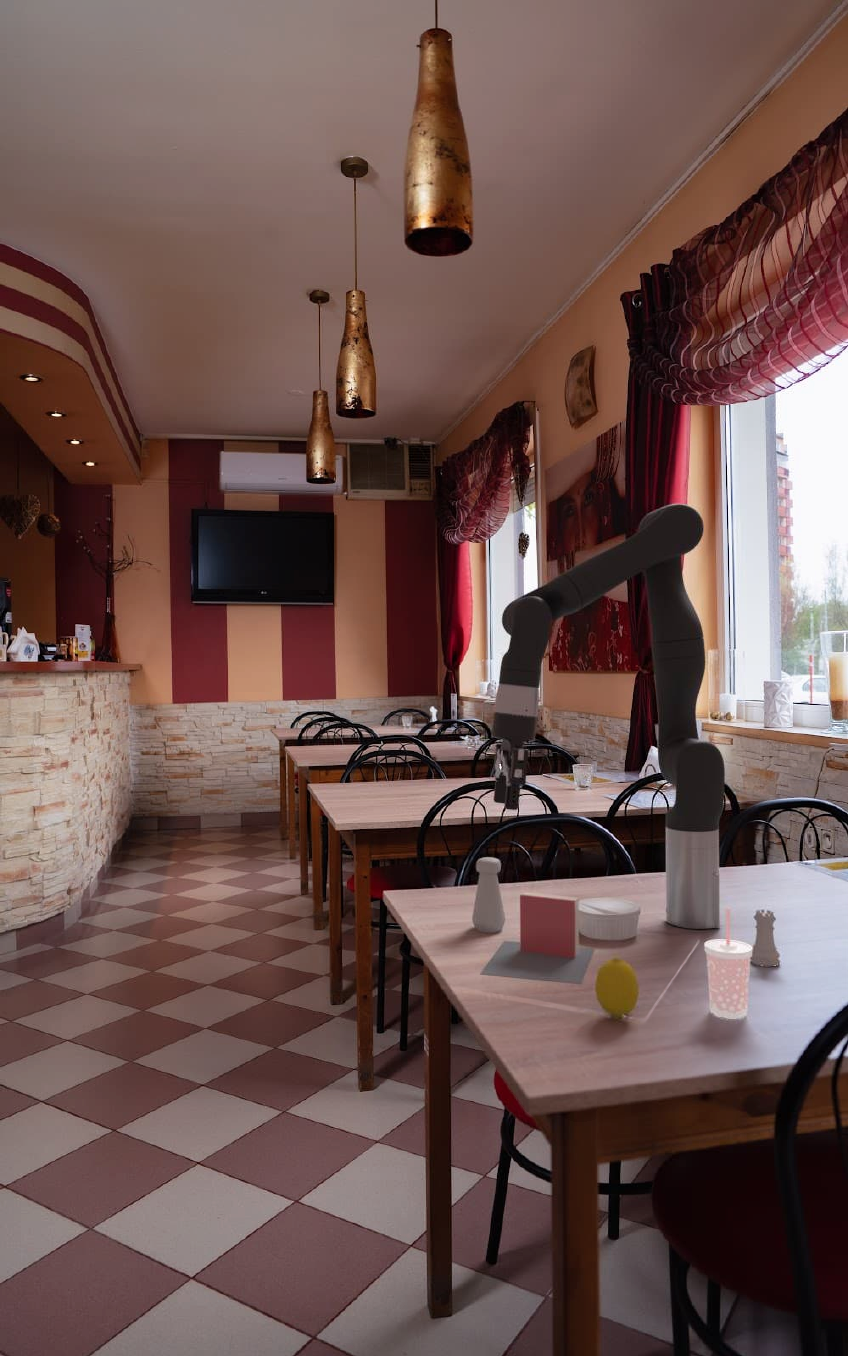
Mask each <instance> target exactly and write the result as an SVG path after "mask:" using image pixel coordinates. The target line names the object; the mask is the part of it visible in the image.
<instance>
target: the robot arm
mask: <svg viewBox="0 0 848 1356" xmlns="http://www.w3.org/2000/svg"><path fill="white" fill-rule="evenodd" d="M704 526H705V525H704V521H703V518H702V516H701V514H700V513H699V512H698V511H697V510H696V508H694V507H692V506H690V505H688V504H685V503H684V504H683V503H671V504H668V505H665V506H662V507H660V508H657V509H655V510H653V511H651V512H649V513H647V514H646V515H644V517H643V518H642V519H641V521H640V523H639V525H638V528H637V532H636V533H635V534H634V535H632V536H631V537H628V538H627V539H625V540H624V541H622V542H620V543H618V544H616V545H615V546H612V547H609V549H606V550H604V551H602V552H600V553H598V554H595V555H593V556H591V557H589V558H587V559H585V560H583V561H581V562H580V563H578V564H576V565H574V566H572V567H571V568H569V569H567V570H565V571H564V572H562V573H560V574H559V575H557V576H556V577H554V578H553V579H551V580H550V581H549V582H547V583H546V584H544V585H542V586H539V587H537V588H535V589H534V590H531V591H529V592H527V593H526V594H523V595H521V596H520V597H517V598H516V599H514V600H513V601H511V602H509V604H507V606H505V608H504V610H503V612H502V614H501V616H502V617H501V624H502V627H503V630H505V632H506V634H508V635H509V636H510V640H509V646H508V649H507V651H506V652H505V653H503V656H502V658H501V662H500V670H499V676H498V677H499V679H498V686H497V691H496V694H495V700H494V709H493V717H492V718H493V719H492V725H491V736H492V738H495V739H500V740H501V739H502V741H501V743H500V742H497V743H496V745H495V751H494V752H495V754H494V761H493V767H492V768H493V769H492V776H493V778H494V781H495V783H494V792H493V793H494V794H493V798H492V799H493V802H494V803H497V804H504V808H505V809H506V810H509V811H510V810H511V811H517V810H518V809H519V802H520V796H521V795H520V793H521V789H523V786H525V784H526V783H527V771H528V770H527V769H528V761H529V760H528V759H529V753H530V752H529V749H528V748H524V743H525V742H526V743H533V742H534V741H535V740H536V732H537V723H538V715H539V707H540V706H539V705H540V684H541V673H542V663H543V659H544V657H545V655H546V651H547V647H548V644H549V640H550V637H551V632H552V627H553V623H554V622H555V621H557V620H559V619H560V618H563V617H565V616H568V615H572V614H574V613H576V612H578V611H580V610H581V609H583V608H585V607H586V606H589V605H590V604H591V603H594V602H595V601H597V600H598V599H599V598H601V597H603V596H604V595H606V594H607V593H610V591H612V590H613V589H615V588H617V587H618V586H620V585H622V584H623V583H624V582H626V581H628V580H630V579H631V578H632V577H635V576H636V575H638V574H640V573H642V572H643V576H644V580H645V588H646V595H647V596H646V597H647V607H648V609H647V610H648V618H649V627H650V628H649V629H650V643H651V644H650V645H651V656H652V657H651V658H652V666H653V672H654V683H655V694H656V696H655V697H656V705H657V715H658V717H657V718H658V720H657V721H658V724H657V725H658V726H657V728H658V729H657V731H658V732H657V733H658V734H657V735H658V737H657V742H658V743H657V759H658V760H657V761H658V762H657V763H658V764H657V765H658V768H659V771H660V773H661V776H662V777H663V779H664V781H666V782H667V783H669V784H670V785H671V786H673V787H675V799H674V804H673V807H671V808H670V809H668V810H667V811H666V813H665V912H666V913H665V915H666V917H665V918H666V919H665V920H666V922H667V923H668V924H670V925H671V926H675V927H680V928H684V929H694V930H698V929H699V930H704V929H706V930H707V929H720V927H721V926H720V925H721V924H720V923H721V921H720V920H721V919H720V911H721V910H720V909H721V908H720V904H721V903H720V900H721V899H720V846H719V845H720V843H719V842H720V838H719V837H720V834H719V833H720V832H719V831H720V829H719V828H720V818H721V817H722V814H723V811H724V805H725V804H724V801H725V799H724V798H725V782H726V780H725V778H726V777H725V776H726V773H725V771H726V770H725V762H724V761H725V760H724V757H723V755H722V752H721V751H720V749H719V747H717V746H716V745H715V744H713V743H712V742H710V741H708V740H704V739H700V738H699V733H698V725H697V715H696V714H697V701H698V697H699V694H700V690H701V687H702V683H703V680H704V676H705V670H706V649H705V640H704V631H703V627H702V623H701V620H700V617H699V616H698V614H697V612H696V610H695V607H694V605H693V603H692V602H691V599H690V597H689V595H688V593H687V590H686V587H685V582H684V574H683V563H682V559H683V558H682V556H684V555H686V554H688V553H690V552H692V550H694V549H695V548H696V547H697V546H698V545H699V543H700V542H701V540H702V538H703V535H704Z"/></svg>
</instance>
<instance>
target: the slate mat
mask: <svg viewBox="0 0 848 1356" xmlns="http://www.w3.org/2000/svg"><path fill="white" fill-rule="evenodd" d="M594 952H595V948H591V947H582V946H579V955H578V956H577V957H576V958H575V959H573V958H566V957H559V956H552V955H545V954H538V953H532V952H525V951H520V941H510V940H504V941H503V942H502V943H501V944H500V945H499V947H498V949H496V951H495V953H494V954H493V955H492V957H491V958H490V960H489V961H488V962H487V964H486V965H485V967H484V968H483V969H482V971H481V972H480V973H479V975H483V976H484V975H485V976H494V977H505V978H513V979H525V980H535V981H536V980H537V981H546V982H553V983H554V982H556V983H566V984H567V983H568V984H575V985H576V984H577V985H582V983H583V980H584V978H585V974H586V973H587V970H588V967H589V965H590V962H591V961H592V956H593V954H594Z"/></svg>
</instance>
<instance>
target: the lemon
mask: <svg viewBox="0 0 848 1356" xmlns="http://www.w3.org/2000/svg"><path fill="white" fill-rule="evenodd" d="M639 991H640V988H639V981H638V977H637V974H636V972H635V969H634V967H632V966H631V964H629V963H627V962H626V961H624V960H622V959H620V957H614V958H613V959H611V960H608V961H606V962H605V963H603V964H602V966H601V967H600V968H599V970H598V971H597V975H596V979H595V995H596V998H597V1002H598V1003H599V1005H600V1006H601V1008H602V1009H603V1010H604V1011H605V1012H607V1013H608V1014H610V1015H612V1017H613V1018H615V1019H617V1020H619V1019H621V1018H622V1016H623V1015H627V1014H629V1013H631V1011H632V1010H633V1009H634V1008H635V1006H637V1005H636V1004H637V1002H638V998H639V993H640V992H639Z"/></svg>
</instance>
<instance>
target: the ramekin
mask: <svg viewBox="0 0 848 1356" xmlns="http://www.w3.org/2000/svg"><path fill="white" fill-rule="evenodd" d="M640 915H641V906H640V905H639V904H638V903H636V902H633V901H630V900H626V899H621V898H615V897H595V898H594V897H593V898H586V899H582V900H579V934H581V935H583V936H585V937H586V938H590V939H593V940H600V941H601V940H602V941H624V940H629V939H632V938H633V937H635V936H636V934H637V932H638V931H637V930H638V926H639V919H640Z"/></svg>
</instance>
